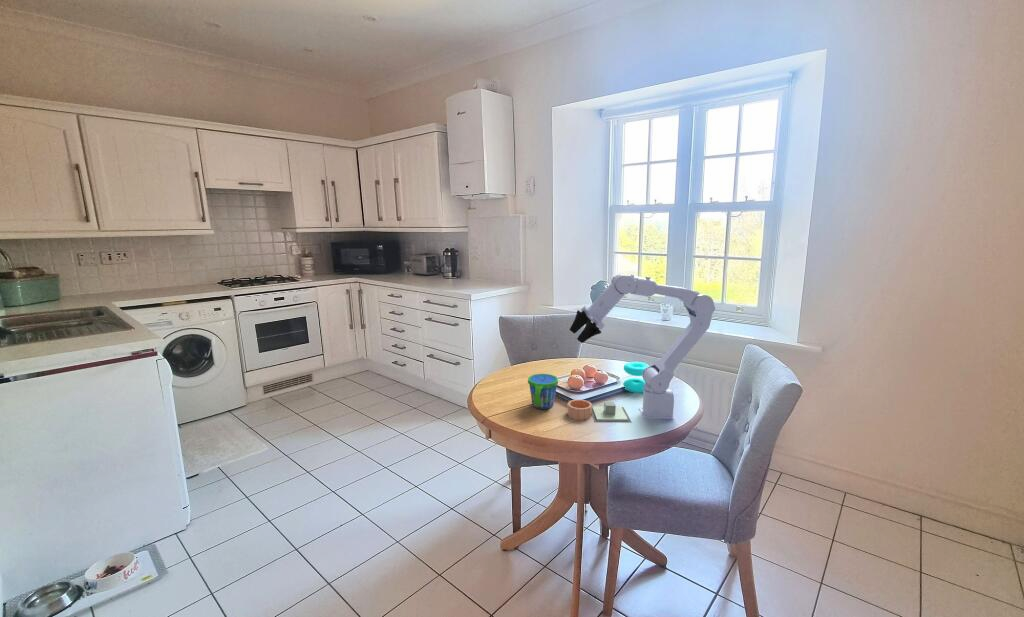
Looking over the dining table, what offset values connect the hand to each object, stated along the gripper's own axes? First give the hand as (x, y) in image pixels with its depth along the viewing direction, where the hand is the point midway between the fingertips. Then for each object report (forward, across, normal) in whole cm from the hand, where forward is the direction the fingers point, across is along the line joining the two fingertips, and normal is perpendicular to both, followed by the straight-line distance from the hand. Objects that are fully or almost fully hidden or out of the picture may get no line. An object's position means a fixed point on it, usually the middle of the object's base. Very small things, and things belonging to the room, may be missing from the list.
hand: (575, 336), depth 142 cm
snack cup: (+28, -4, +12) cm, 30 cm away
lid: (+13, +8, +25) cm, 29 cm away
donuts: (+3, -12, +43) cm, 45 cm away
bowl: (+20, +6, +18) cm, 27 cm away
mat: (+13, +8, +25) cm, 30 cm away
